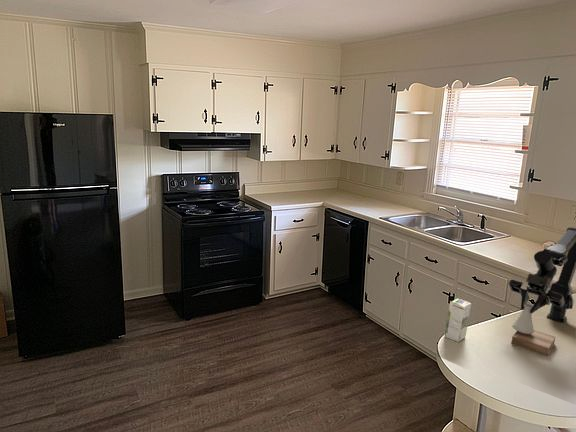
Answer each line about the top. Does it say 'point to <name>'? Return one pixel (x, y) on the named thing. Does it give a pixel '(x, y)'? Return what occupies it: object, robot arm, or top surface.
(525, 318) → the flask
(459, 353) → the top surface
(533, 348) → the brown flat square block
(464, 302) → the syrup box
